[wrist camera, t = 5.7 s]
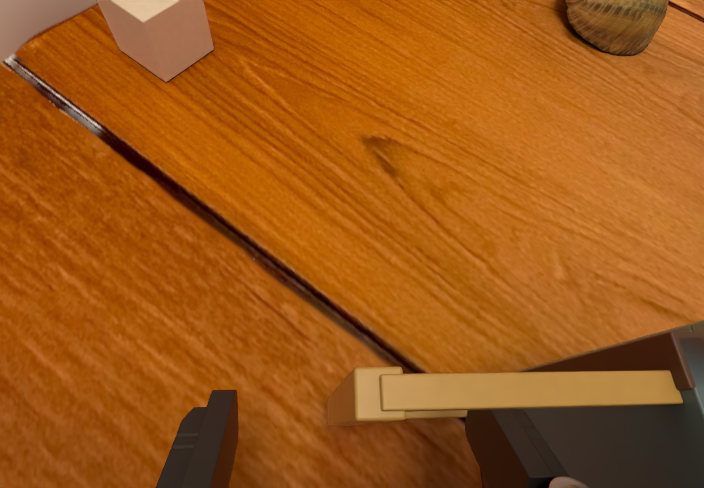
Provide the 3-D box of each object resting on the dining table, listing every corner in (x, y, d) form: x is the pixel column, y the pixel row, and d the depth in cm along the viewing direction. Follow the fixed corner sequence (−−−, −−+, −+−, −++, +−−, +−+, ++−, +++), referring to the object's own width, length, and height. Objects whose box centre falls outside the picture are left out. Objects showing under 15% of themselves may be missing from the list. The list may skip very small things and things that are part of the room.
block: (166, 83, 28) (142, 22, 24) (119, 49, 28) (88, -15, 24) (214, 49, 30) (200, -13, 25) (169, 19, 30) (148, -46, 26)
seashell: (607, 64, 41) (651, -26, 37) (666, 69, 34) (725, -40, 31) (526, 35, 38) (566, -65, 35) (574, 34, 32) (628, -87, 29)
